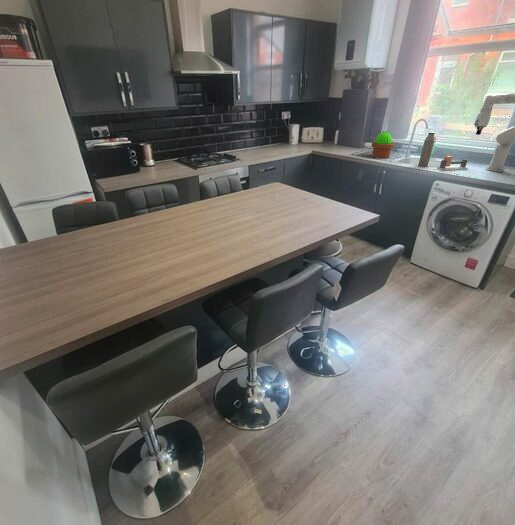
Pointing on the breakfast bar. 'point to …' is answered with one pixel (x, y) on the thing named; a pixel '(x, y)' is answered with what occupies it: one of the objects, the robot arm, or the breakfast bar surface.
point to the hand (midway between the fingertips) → (477, 134)
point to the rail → (461, 167)
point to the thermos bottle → (427, 150)
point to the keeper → (448, 160)
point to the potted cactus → (382, 145)
